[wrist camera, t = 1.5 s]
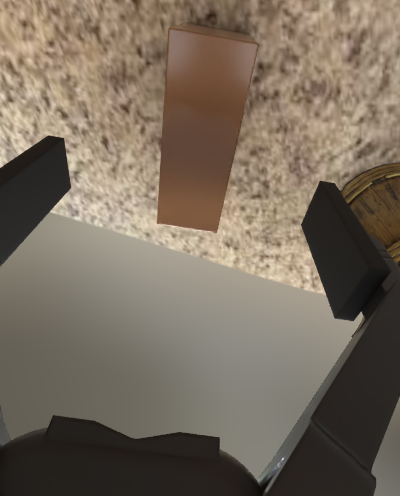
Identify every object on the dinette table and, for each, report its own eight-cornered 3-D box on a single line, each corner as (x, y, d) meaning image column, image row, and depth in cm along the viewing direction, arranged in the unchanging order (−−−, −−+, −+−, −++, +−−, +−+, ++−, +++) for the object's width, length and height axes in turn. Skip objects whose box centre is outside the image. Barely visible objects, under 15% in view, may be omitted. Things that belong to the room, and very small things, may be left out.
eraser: (185, 22, 21) (168, 27, 15) (249, 34, 21) (259, 43, 15) (171, 177, 28) (156, 223, 22) (218, 185, 29) (216, 233, 22)
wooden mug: (289, 168, 27) (357, 337, 13) (449, 160, 25) (721, 340, 12) (281, 244, 33) (323, 420, 19) (412, 241, 31) (565, 430, 17)
